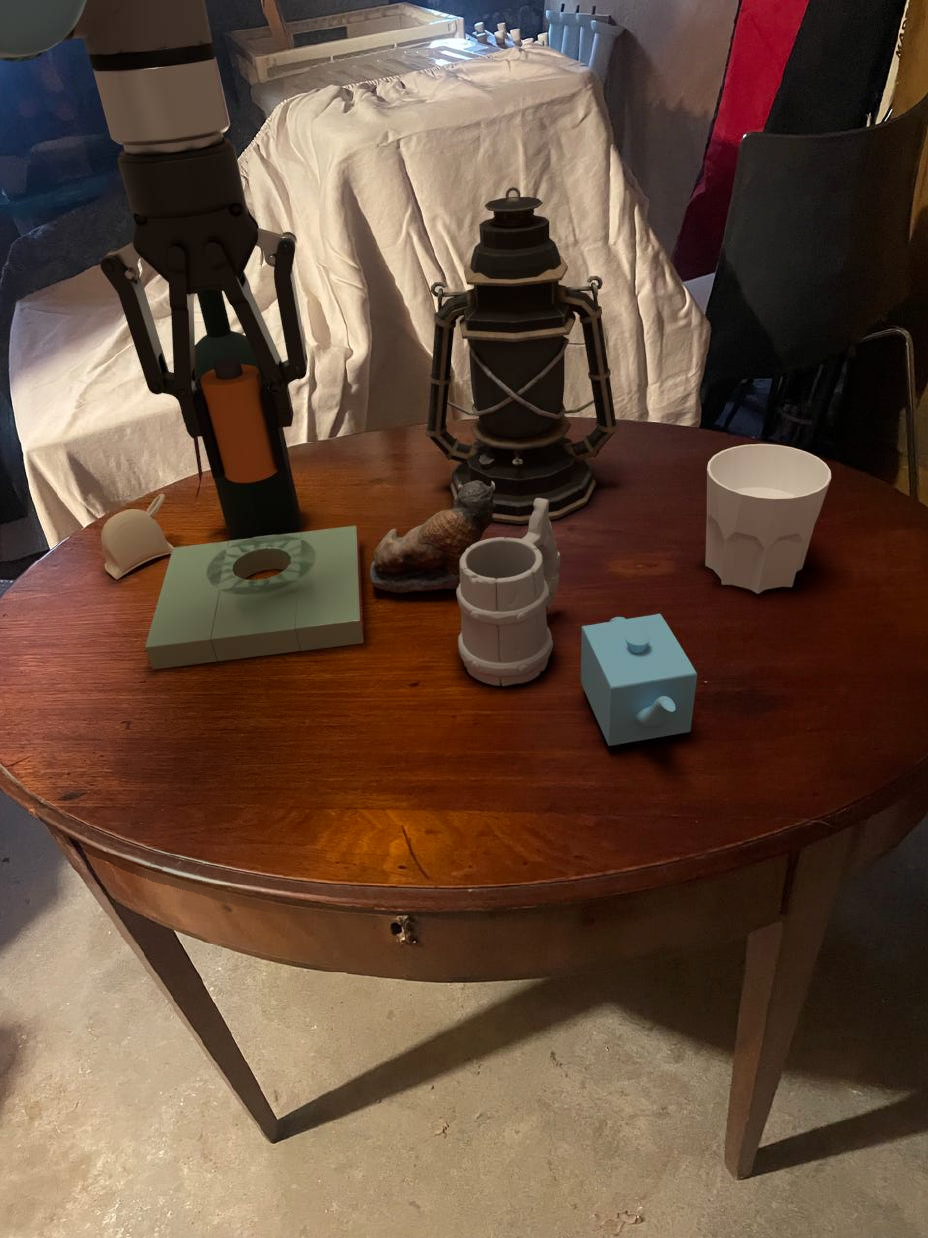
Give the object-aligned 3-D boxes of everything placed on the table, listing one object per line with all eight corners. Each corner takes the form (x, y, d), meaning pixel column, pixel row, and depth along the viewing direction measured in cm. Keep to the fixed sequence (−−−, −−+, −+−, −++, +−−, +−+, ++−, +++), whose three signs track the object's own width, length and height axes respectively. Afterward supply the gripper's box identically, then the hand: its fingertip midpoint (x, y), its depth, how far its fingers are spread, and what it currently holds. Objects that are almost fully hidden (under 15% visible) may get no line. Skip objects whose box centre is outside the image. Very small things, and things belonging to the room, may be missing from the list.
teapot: (707, 774, 61) (719, 693, 56) (622, 790, 60) (627, 708, 56) (648, 667, 70) (654, 589, 66) (575, 679, 70) (576, 602, 65)
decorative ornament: (97, 566, 89) (79, 520, 85) (171, 533, 93) (157, 488, 90) (114, 581, 86) (97, 534, 83) (190, 546, 90) (176, 501, 87)
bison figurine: (369, 607, 79) (353, 510, 73) (375, 565, 85) (360, 472, 79) (501, 599, 79) (496, 501, 73) (498, 557, 85) (493, 463, 79)
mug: (440, 669, 72) (427, 544, 65) (518, 597, 79) (514, 478, 72) (519, 701, 68) (514, 573, 61) (593, 622, 75) (596, 499, 68)
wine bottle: (209, 517, 95) (126, 221, 77) (303, 505, 96) (242, 209, 78) (201, 555, 89) (110, 243, 71) (302, 542, 90) (236, 229, 72)
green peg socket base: (152, 670, 74) (144, 647, 73) (179, 567, 87) (173, 546, 86) (364, 643, 75) (359, 620, 74) (359, 546, 88) (356, 524, 87)
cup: (833, 586, 77) (855, 486, 71) (727, 607, 76) (741, 507, 70) (775, 531, 85) (791, 436, 79) (679, 549, 84) (688, 454, 78)
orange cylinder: (221, 486, 69) (192, 375, 64) (228, 461, 72) (201, 354, 67) (277, 479, 69) (253, 369, 64) (281, 455, 73) (258, 348, 67)
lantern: (422, 527, 90) (387, 214, 72) (439, 457, 103) (413, 176, 85) (619, 524, 88) (633, 201, 70) (612, 453, 101) (623, 164, 83)
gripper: (310, 121, 60) (359, 435, 74) (54, 145, 59) (151, 458, 73) (305, 137, 54) (359, 476, 68) (20, 164, 53) (133, 501, 67)
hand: (251, 466), depth 71 cm, fingers closed on orange cylinder, 4 cm apart
